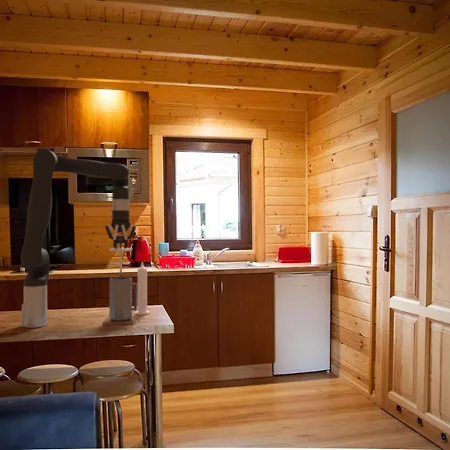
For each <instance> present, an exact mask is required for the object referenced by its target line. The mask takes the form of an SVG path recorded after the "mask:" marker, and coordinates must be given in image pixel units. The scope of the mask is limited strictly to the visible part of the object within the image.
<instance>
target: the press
mask: <svg viewBox="0 0 450 450" xmlns="http://www.w3.org/2000/svg"><path fill="white" fill-rule="evenodd" d="M108 279H109V282H108V283H109V290H108V291H109V294H108V295H109V301H108V302H109V305H108V306H109V309H108V310H109V312H108V313H109V315H108V317H107V318H106V319H105V320H103V321H102V326H117V325H118V326H122V325H124V326H125V325H128V326H129V325H131V326H132V325H134V324H135V323H136V322H137V320H138V319H139V315H133V311H135V312H136V311H138V282H133V277H129V276H127V277H126V276H125V277H123V276H122V279H120V276H119V277H110V278H108ZM135 321H136V322H135Z"/></svg>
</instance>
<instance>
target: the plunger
mask: <svg viewBox="0 0 450 450" xmlns="http://www.w3.org/2000/svg"><path fill="white" fill-rule="evenodd" d="M124 240H125V238H124V235H118V236H117V244H119V247H117V249H115V247H114V248H113V247H112V248H109V249H108V251H109V252H119V277H120V279H122V277H123V252H131V251H132V252H133V248H132V247H127V248H126V249H124V247H123V244H124Z"/></svg>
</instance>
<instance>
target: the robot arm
mask: <svg viewBox="0 0 450 450" xmlns="http://www.w3.org/2000/svg"><path fill="white" fill-rule="evenodd" d="M32 166H33V167H32V169H33V170H32V184H31V189H30V195H29V200H28V206H27V215H26V216H27V219H26V225H25V235H24V241H23V245H22V250H21V254H20V262H21V263H20V264H21V265H22V267H23V268H24V269H25V270H27V274H26V275H25V276H26V277H25V278H24V280H23V303H21V328H28V329H30V328H31V329H33V328H35V329H36V328H42V327H45V326H47V325H48V280H49V277H50V254H49V253H48V250H46V249H44V248H43V239H44V235H45V233H46V230H47V228H48V226H49V224H50V222H51V217H52V209H53V194H52V193H53V192H52V191H53V190H52V181H53V173H54V172H55V173H56V172H58V173H61V172H62V173H71V174H72V173H73V174H77V175H82V176H88V177H93V178H101V179H104V178H107V179H112V187H113V188H112V203H111V223H110V224H109V225H106V226H104V228H105V231H106V232H107V233H106V234H107V235H108V238H109V239H110V240H112V241H113V244H112V245H113V247H114V248H115V249H117V248H118V243H117V236H119V233H122V234H123V236H124V238H125V240H124V243H123V244H124V246H123V248H124V249H126V248H129V240H130V239H133V237H134V234H135V232H136V229H137V226H136V225H133V224H131V222H130V209H131V208H130V195H129V194H130V193H129V192H130V191H129V190H130V189H129V176H130V171H129V168H128V166H126V165H125V164H121V163H115V162H114V163H113V162H103V161H98V160H92V159H79V158H71V157H67V156H66V157H65V156H61V155H58V154H55V153H54V152H53V151H52V150H50V149H47V148H41V149H39V150H37V151H36V152H35V153H34V154H33V158H32ZM129 228H130V233H129V235H128V230H129ZM112 229H113V230H114V231H113V232H114V233H113V234H112V231H111V230H112Z"/></svg>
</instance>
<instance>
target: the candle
mask: <svg viewBox="0 0 450 450" xmlns="http://www.w3.org/2000/svg"><path fill="white" fill-rule="evenodd" d="M150 312H151V311H149V310H148V268H147V267H145V266H144V262H143V261H142V262H141V264H140V267H138V268H137V310H136V311H135V312H134V314H135V315H136V314H137V315H136V316H143V315H149V314H150Z"/></svg>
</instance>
